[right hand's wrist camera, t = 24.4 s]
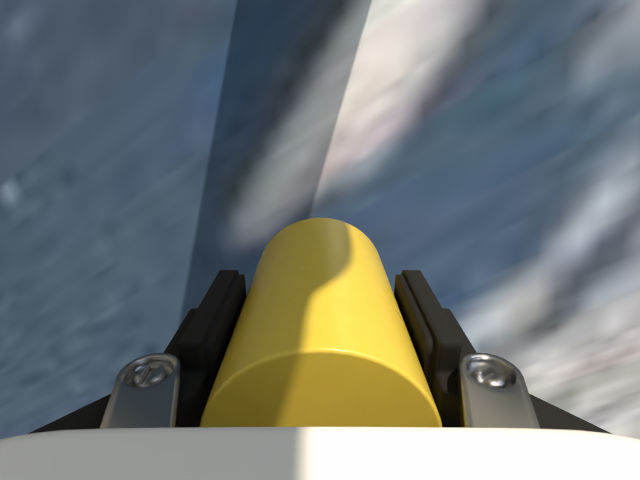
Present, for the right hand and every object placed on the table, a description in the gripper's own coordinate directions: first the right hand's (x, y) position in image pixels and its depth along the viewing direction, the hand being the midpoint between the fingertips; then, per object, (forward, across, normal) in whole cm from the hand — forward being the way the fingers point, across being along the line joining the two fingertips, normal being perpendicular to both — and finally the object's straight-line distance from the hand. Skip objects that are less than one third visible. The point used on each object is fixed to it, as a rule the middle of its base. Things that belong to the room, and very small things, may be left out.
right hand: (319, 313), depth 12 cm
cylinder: (+3, 0, 0) cm, 3 cm away
